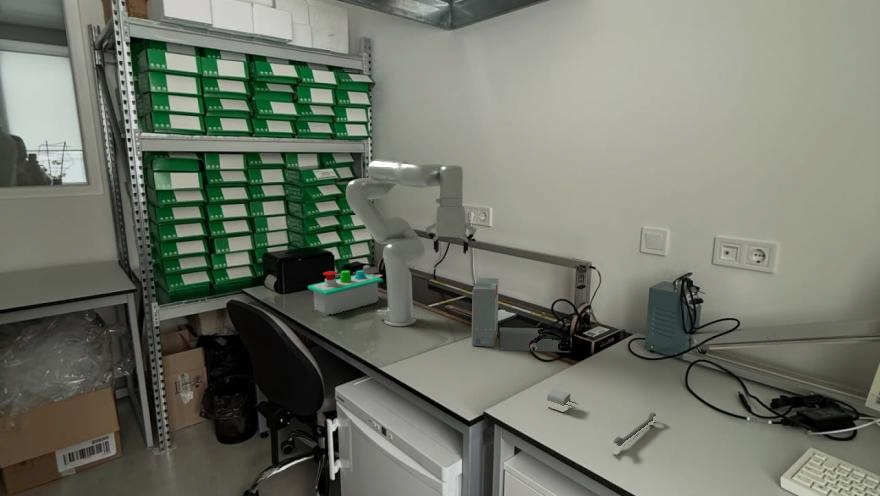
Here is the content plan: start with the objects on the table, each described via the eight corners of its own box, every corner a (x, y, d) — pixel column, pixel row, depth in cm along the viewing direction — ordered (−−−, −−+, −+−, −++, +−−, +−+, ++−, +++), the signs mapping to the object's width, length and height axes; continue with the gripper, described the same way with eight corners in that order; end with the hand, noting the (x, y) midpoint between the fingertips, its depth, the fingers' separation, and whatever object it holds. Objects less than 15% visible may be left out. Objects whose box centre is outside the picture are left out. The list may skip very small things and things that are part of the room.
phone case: (490, 328, 173) (518, 317, 183) (490, 324, 173) (518, 314, 183) (473, 322, 180) (501, 312, 190) (473, 318, 180) (501, 308, 190)
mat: (500, 350, 152) (500, 349, 152) (499, 328, 172) (499, 327, 172) (569, 352, 150) (569, 351, 150) (560, 329, 169) (560, 328, 169)
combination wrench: (652, 408, 111) (608, 440, 98) (658, 410, 110) (614, 442, 97) (651, 422, 111) (607, 456, 99) (656, 425, 110) (613, 459, 98)
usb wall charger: (554, 401, 120) (554, 387, 119) (579, 410, 116) (580, 395, 115) (546, 408, 117) (547, 393, 116) (573, 417, 113) (573, 402, 112)
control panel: (384, 265, 202) (323, 278, 182) (385, 301, 206) (326, 318, 185) (363, 260, 213) (304, 272, 192) (365, 294, 216) (307, 310, 196)
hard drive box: (494, 347, 154) (495, 289, 150) (471, 346, 156) (471, 288, 152) (498, 330, 169) (498, 277, 165) (477, 329, 171) (477, 276, 167)
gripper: (423, 203, 154) (424, 254, 158) (476, 204, 151) (475, 255, 155) (427, 201, 161) (428, 249, 165) (477, 201, 159) (476, 251, 162)
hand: (450, 252), depth 160 cm, fingers open, 9 cm apart
